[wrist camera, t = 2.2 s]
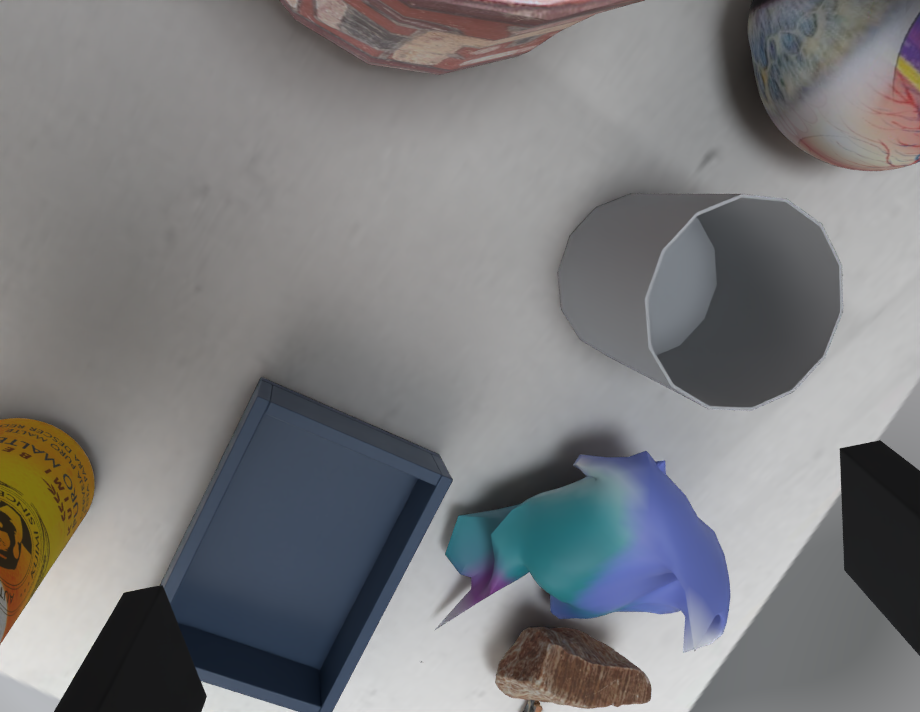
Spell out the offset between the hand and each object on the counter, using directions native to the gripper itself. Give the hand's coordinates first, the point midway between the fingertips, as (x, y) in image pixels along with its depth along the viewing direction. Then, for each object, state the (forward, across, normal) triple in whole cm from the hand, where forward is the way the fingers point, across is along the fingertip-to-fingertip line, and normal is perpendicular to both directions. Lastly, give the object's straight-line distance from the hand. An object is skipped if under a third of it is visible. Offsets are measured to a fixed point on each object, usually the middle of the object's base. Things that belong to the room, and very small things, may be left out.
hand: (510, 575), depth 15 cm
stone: (+22, +2, -19) cm, 29 cm away
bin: (+21, -10, -10) cm, 25 cm away
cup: (+25, +9, -2) cm, 27 cm away
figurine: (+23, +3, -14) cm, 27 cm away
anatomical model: (+28, +20, +5) cm, 35 cm away
